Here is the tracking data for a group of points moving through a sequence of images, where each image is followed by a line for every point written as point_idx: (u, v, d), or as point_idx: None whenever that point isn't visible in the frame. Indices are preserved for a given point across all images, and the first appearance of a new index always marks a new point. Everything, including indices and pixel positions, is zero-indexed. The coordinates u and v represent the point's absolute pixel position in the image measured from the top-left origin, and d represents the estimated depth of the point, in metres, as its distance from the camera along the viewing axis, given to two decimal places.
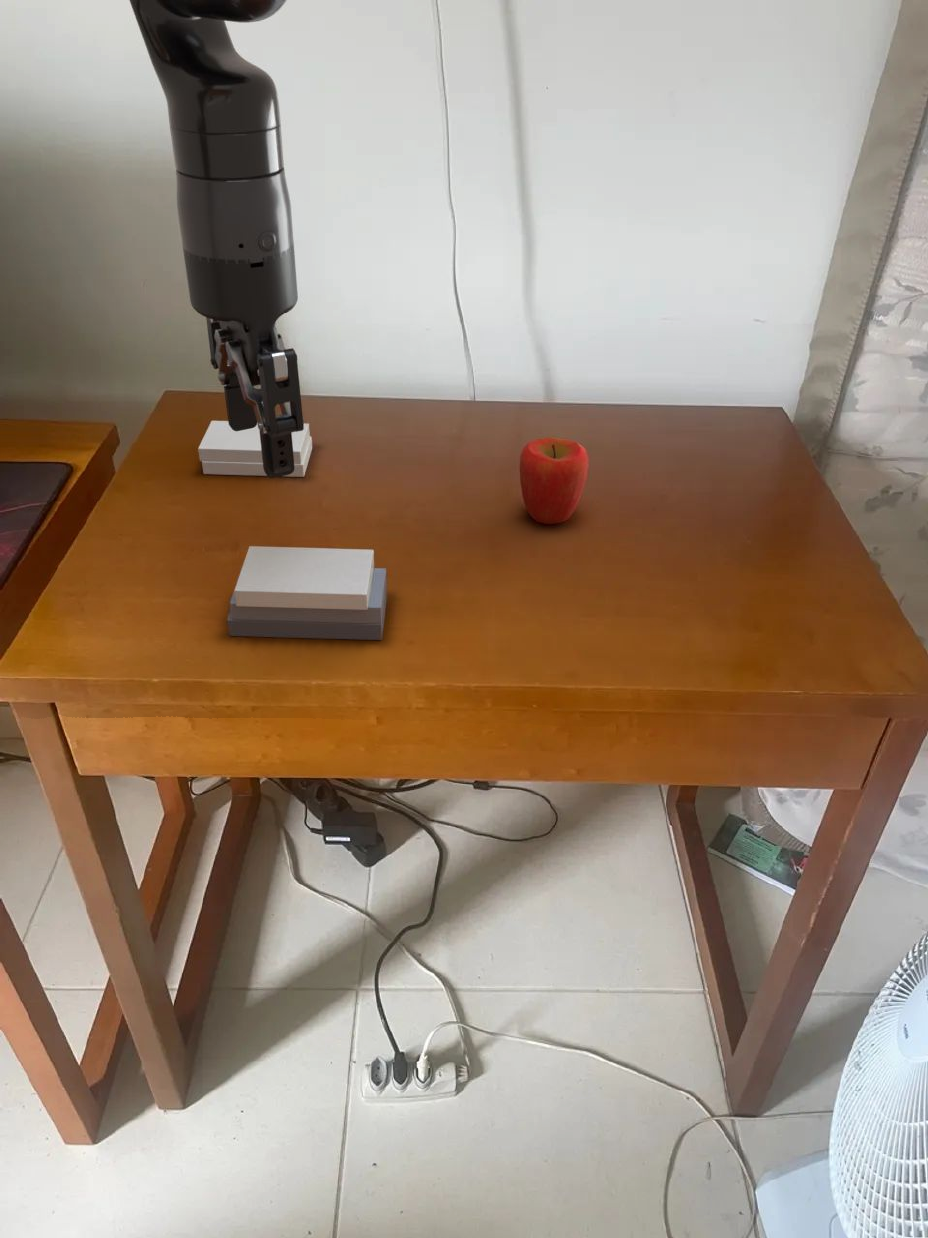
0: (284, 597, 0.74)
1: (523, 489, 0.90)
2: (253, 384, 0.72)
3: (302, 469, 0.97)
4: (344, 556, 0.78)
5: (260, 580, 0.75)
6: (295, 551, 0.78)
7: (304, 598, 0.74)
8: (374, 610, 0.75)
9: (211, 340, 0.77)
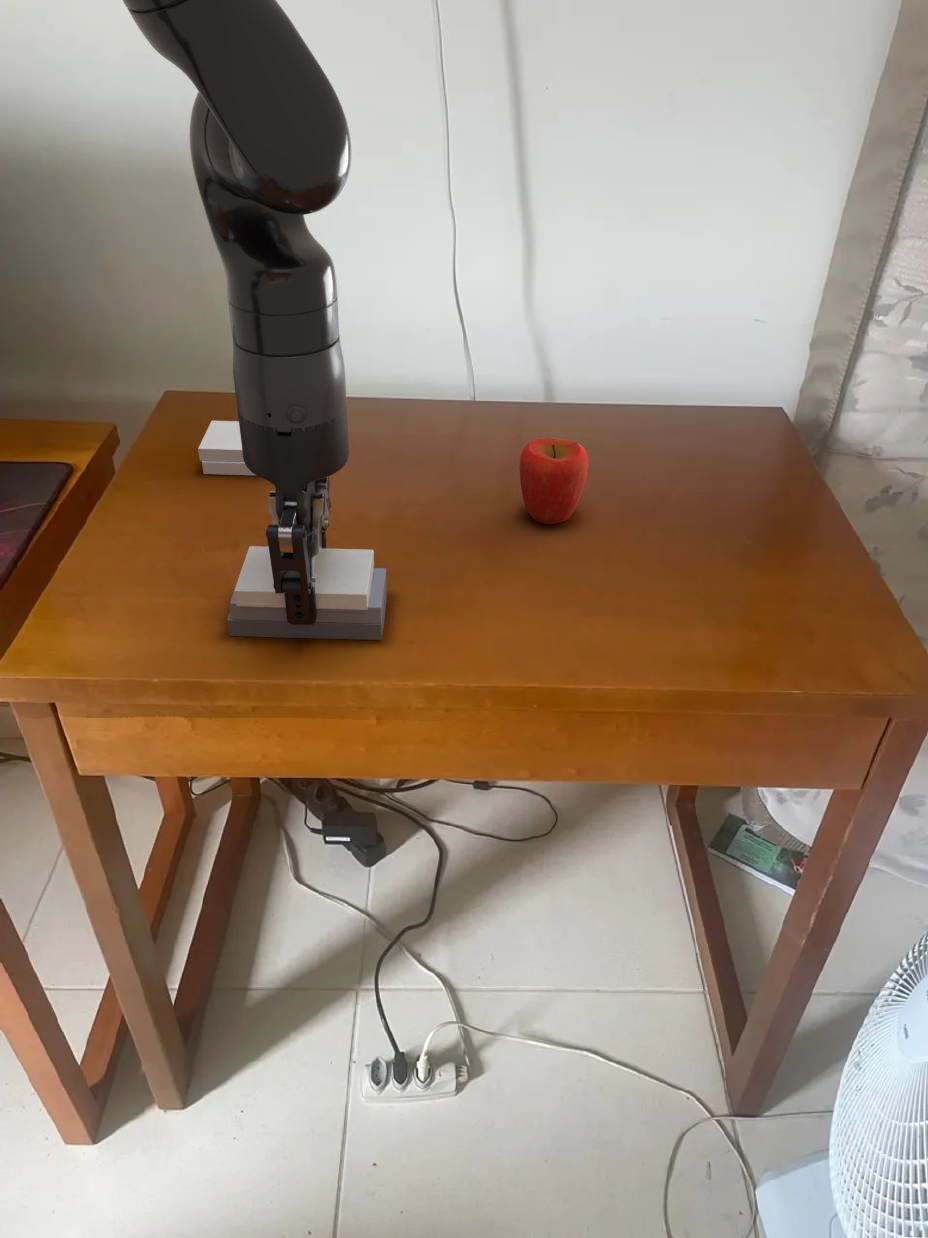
0: (284, 597, 0.74)
1: (523, 489, 0.90)
2: None
3: None
4: (344, 556, 0.78)
5: (260, 580, 0.75)
6: None
7: None
8: (374, 610, 0.75)
9: None
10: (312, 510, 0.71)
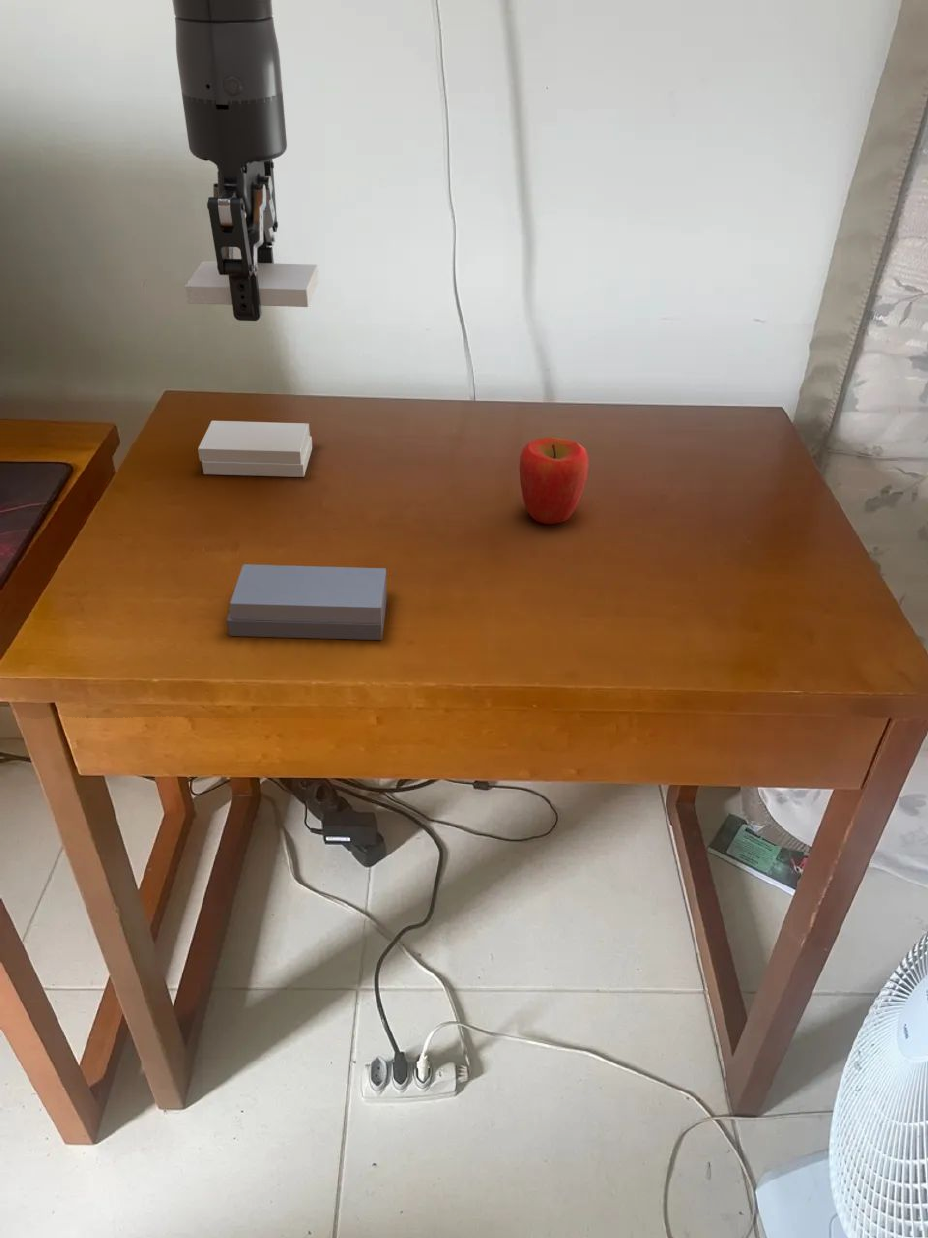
0: None
1: (523, 489, 0.90)
2: None
3: (302, 469, 0.97)
4: (289, 267, 0.84)
5: (209, 280, 0.81)
6: None
7: None
8: (374, 610, 0.75)
9: None
10: (253, 199, 0.77)
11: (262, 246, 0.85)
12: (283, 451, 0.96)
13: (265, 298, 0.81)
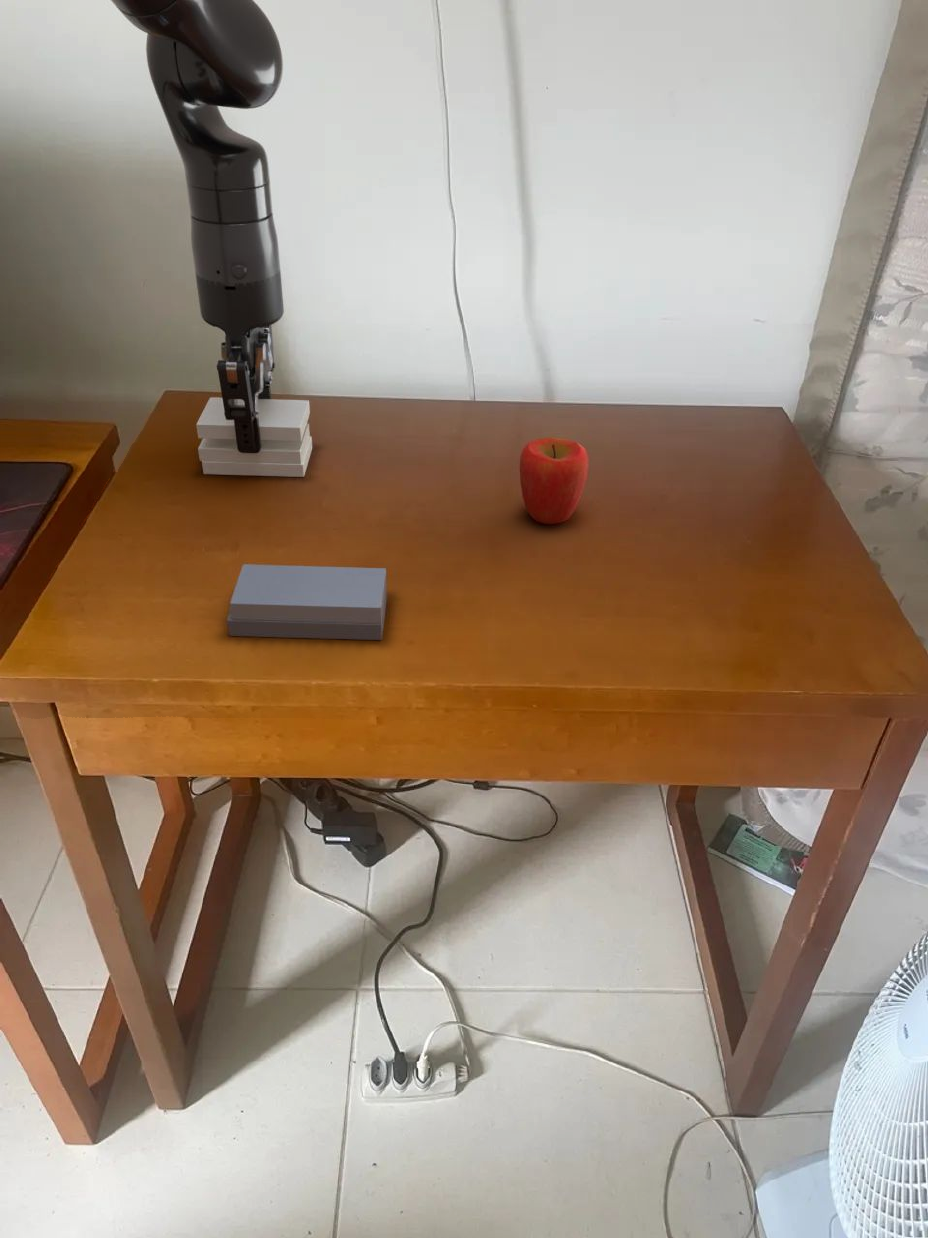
0: None
1: (523, 489, 0.90)
2: None
3: (302, 469, 0.97)
4: (285, 404, 0.98)
5: (216, 418, 0.95)
6: None
7: None
8: (374, 610, 0.75)
9: None
10: (255, 356, 0.91)
11: None
12: (283, 451, 0.96)
13: (264, 434, 0.95)
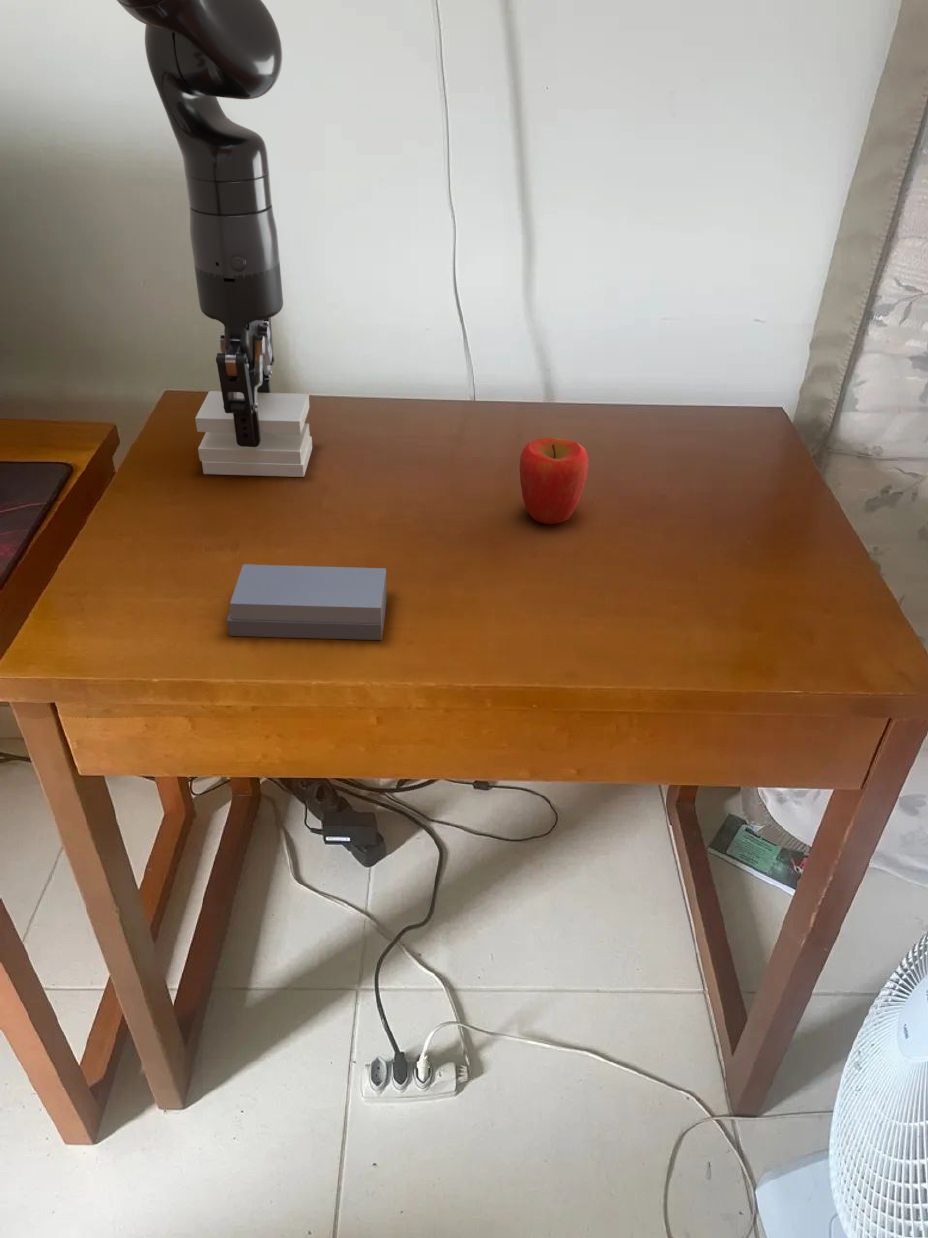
0: None
1: (523, 489, 0.90)
2: None
3: (302, 469, 0.97)
4: (284, 397, 0.98)
5: (216, 411, 0.95)
6: None
7: None
8: (374, 610, 0.75)
9: None
10: (254, 349, 0.91)
11: None
12: (283, 451, 0.96)
13: (264, 428, 0.94)
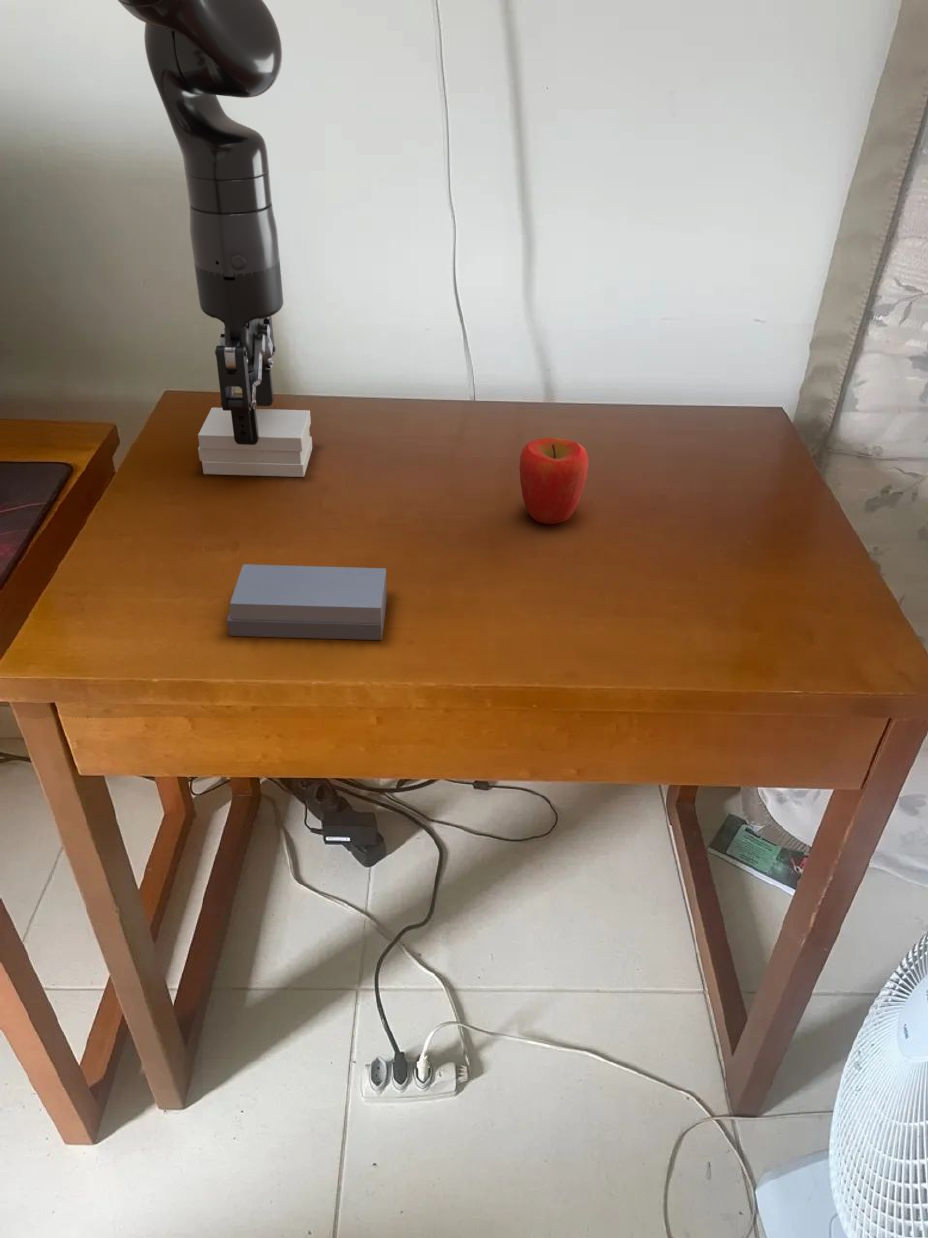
0: None
1: (523, 489, 0.90)
2: None
3: (302, 469, 0.97)
4: (286, 414, 0.99)
5: (218, 428, 0.96)
6: None
7: None
8: (374, 610, 0.75)
9: None
10: (254, 346, 0.90)
11: (262, 369, 0.98)
12: (283, 451, 0.96)
13: (266, 444, 0.95)
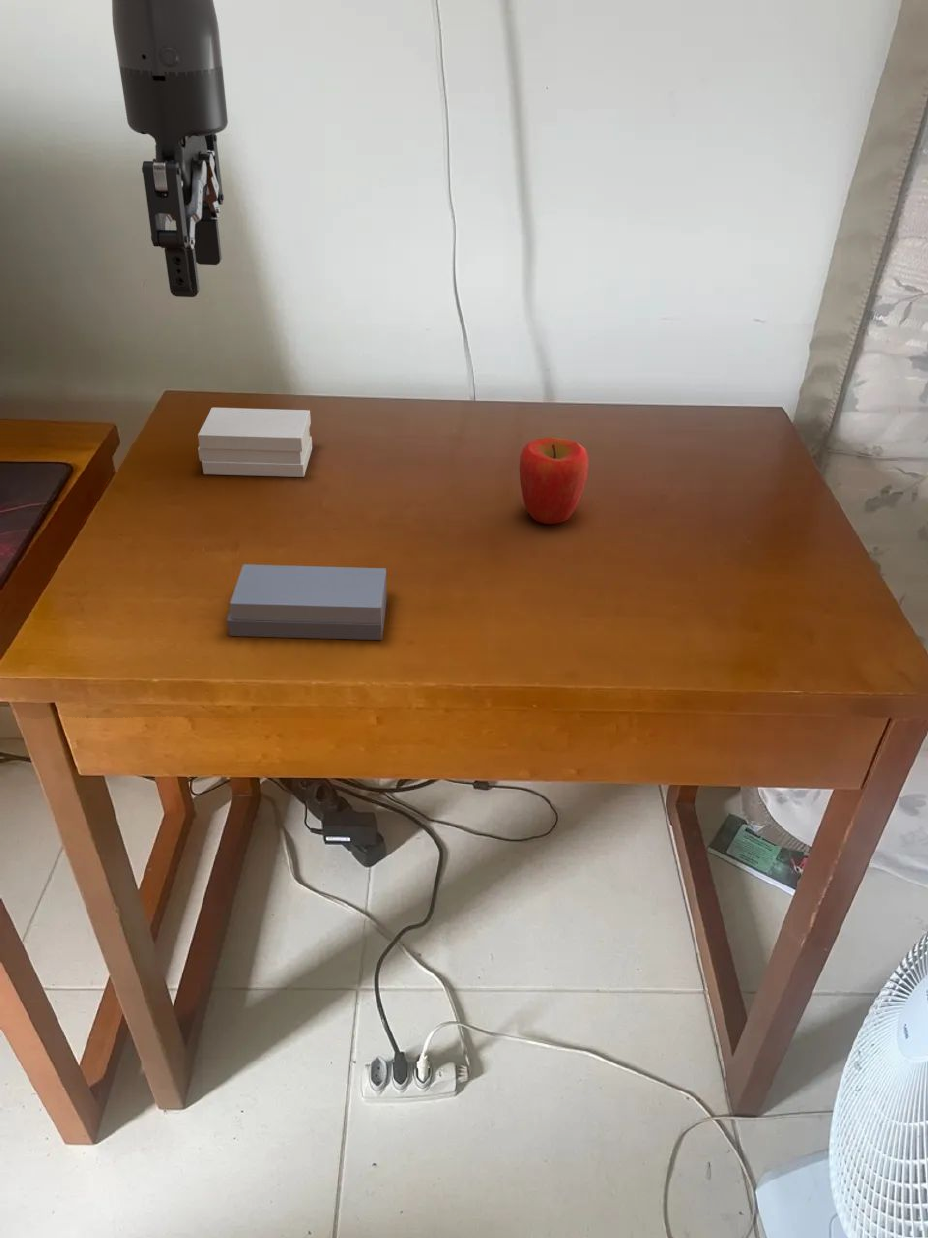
0: (237, 440, 0.95)
1: (523, 489, 0.90)
2: None
3: (302, 469, 0.97)
4: (286, 414, 0.99)
5: (218, 428, 0.96)
6: (247, 410, 0.99)
7: (252, 441, 0.95)
8: (374, 610, 0.75)
9: None
10: (192, 173, 0.76)
11: (207, 218, 0.84)
12: (283, 451, 0.96)
13: (266, 444, 0.95)
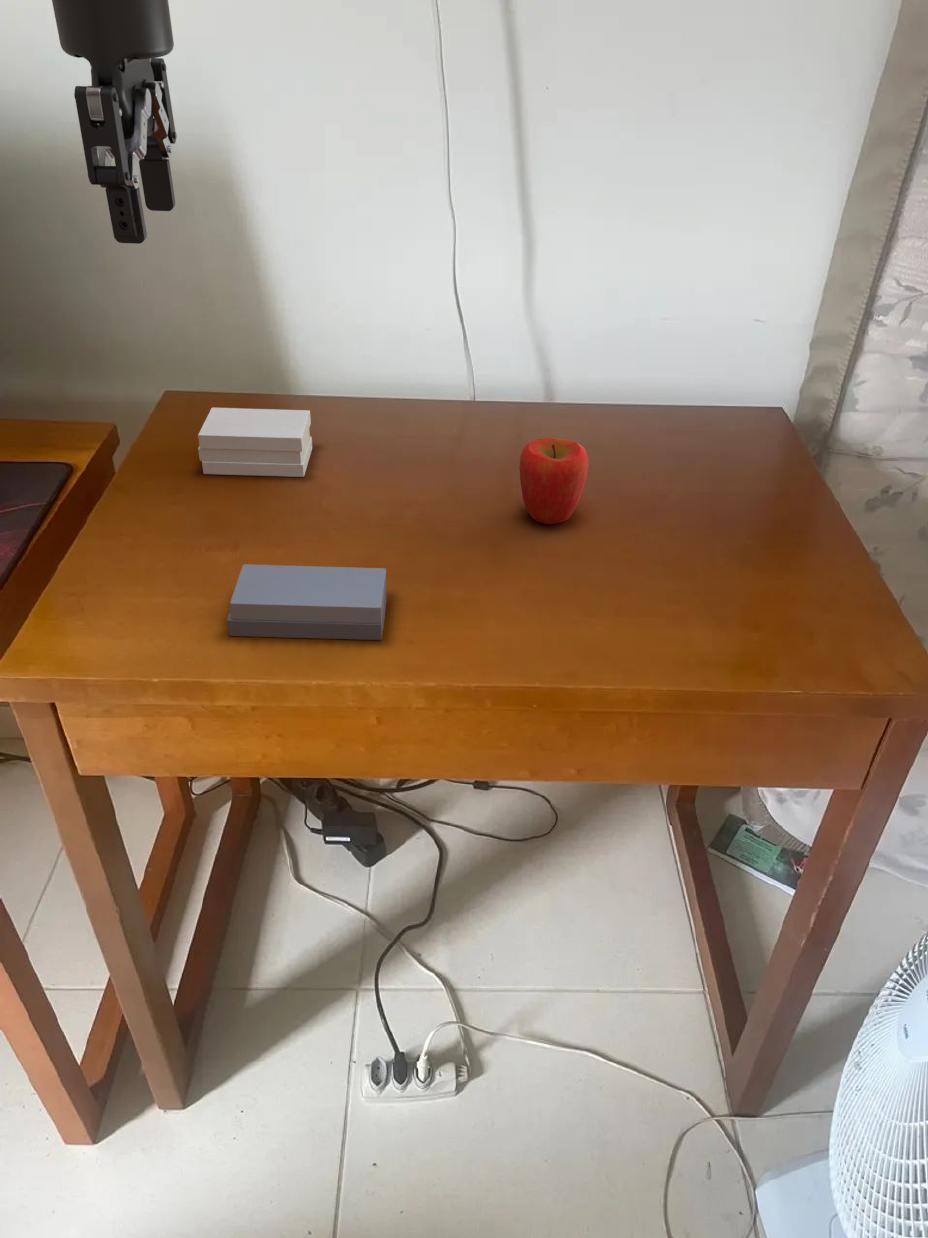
0: (237, 440, 0.95)
1: (523, 489, 0.90)
2: None
3: (302, 469, 0.97)
4: (286, 414, 0.99)
5: (218, 428, 0.96)
6: (247, 410, 0.99)
7: (252, 441, 0.95)
8: (374, 610, 0.75)
9: None
10: (134, 102, 0.68)
11: (157, 157, 0.76)
12: (283, 451, 0.96)
13: (266, 444, 0.95)
